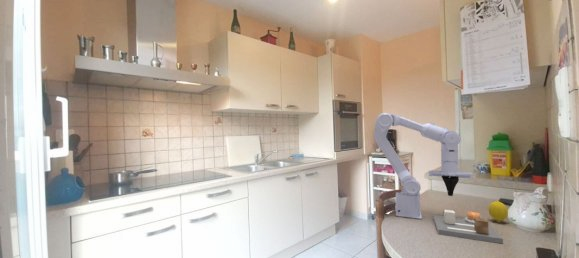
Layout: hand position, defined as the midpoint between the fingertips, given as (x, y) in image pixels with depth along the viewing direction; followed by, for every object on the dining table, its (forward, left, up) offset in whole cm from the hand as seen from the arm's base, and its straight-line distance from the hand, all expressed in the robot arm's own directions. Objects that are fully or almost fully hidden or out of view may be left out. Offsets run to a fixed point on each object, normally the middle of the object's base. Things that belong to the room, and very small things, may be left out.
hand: (450, 195), depth 96 cm
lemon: (+16, +3, -9) cm, 19 cm away
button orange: (+6, -6, -6) cm, 11 cm away
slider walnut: (+6, -16, -8) cm, 18 cm away
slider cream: (-2, -10, -8) cm, 13 cm away
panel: (+2, -11, -9) cm, 14 cm away
